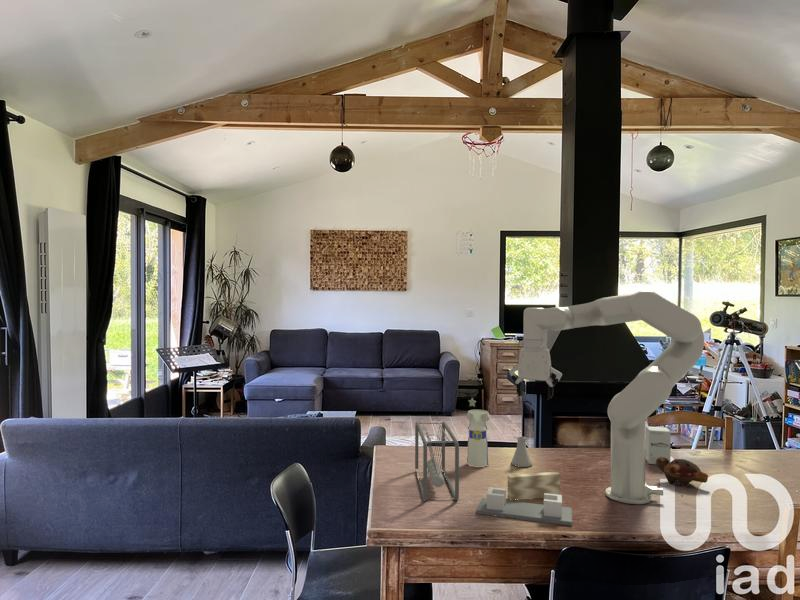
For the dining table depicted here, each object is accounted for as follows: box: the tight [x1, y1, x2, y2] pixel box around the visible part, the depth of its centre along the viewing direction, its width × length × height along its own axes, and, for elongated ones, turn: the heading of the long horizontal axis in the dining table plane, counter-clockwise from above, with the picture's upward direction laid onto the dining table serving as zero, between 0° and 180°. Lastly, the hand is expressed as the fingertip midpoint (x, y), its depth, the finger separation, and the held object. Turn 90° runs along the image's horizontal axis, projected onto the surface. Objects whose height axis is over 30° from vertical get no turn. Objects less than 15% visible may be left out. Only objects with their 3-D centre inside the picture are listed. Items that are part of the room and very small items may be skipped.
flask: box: [510, 436, 533, 468], centre depth 185 cm, size 7×7×10 cm
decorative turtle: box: [655, 457, 709, 488], centre depth 165 cm, size 10×15×8 cm, turn 51°
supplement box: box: [645, 425, 672, 465], centre depth 189 cm, size 7×7×13 cm
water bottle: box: [466, 397, 491, 466], centre depth 185 cm, size 8×9×25 cm
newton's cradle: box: [414, 421, 460, 501], centre depth 163 cm, size 30×10×18 cm, turn 3°
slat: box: [507, 471, 561, 501], centre depth 153 cm, size 16×2×7 cm, turn 102°
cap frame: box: [476, 486, 573, 527], centre depth 141 cm, size 25×10×5 cm, turn 72°
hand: (534, 397), depth 167 cm, fingers open, 9 cm apart
